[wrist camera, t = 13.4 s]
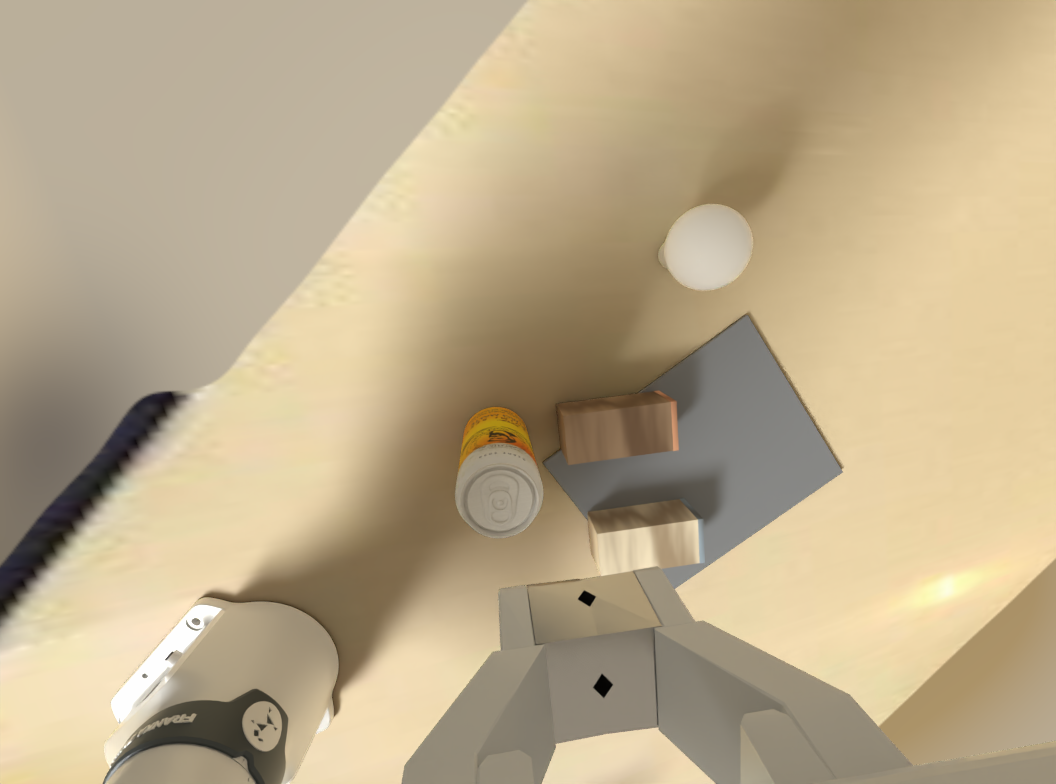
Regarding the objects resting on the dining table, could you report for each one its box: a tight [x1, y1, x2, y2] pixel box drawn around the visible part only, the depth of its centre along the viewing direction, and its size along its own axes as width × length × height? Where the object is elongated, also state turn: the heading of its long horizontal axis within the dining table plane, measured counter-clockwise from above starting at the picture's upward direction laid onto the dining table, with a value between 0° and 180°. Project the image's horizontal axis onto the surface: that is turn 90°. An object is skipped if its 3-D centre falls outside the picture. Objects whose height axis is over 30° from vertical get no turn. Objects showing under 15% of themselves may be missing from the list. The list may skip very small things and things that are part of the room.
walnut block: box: [556, 390, 679, 465], centre depth 45 cm, size 4×4×10 cm
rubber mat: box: [543, 315, 843, 589], centre depth 49 cm, size 24×20×1 cm
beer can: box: [455, 407, 544, 538], centre depth 40 cm, size 6×6×15 cm
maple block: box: [587, 498, 705, 576], centre depth 48 cm, size 4×4×10 cm
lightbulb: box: [658, 204, 753, 291], centre depth 40 cm, size 6×6×11 cm
